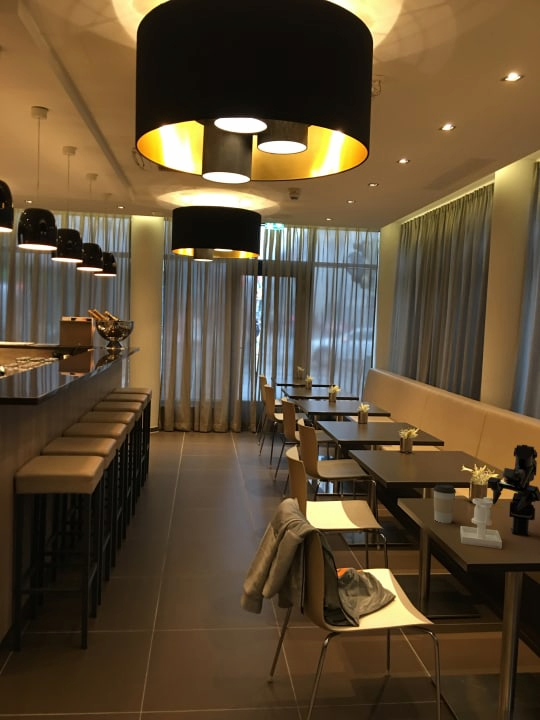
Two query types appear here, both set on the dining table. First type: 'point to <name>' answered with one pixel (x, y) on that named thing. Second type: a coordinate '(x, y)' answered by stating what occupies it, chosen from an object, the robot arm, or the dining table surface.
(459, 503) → the dining table surface
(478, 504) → the white flanged column
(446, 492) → the coffee cup
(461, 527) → the white square tray
